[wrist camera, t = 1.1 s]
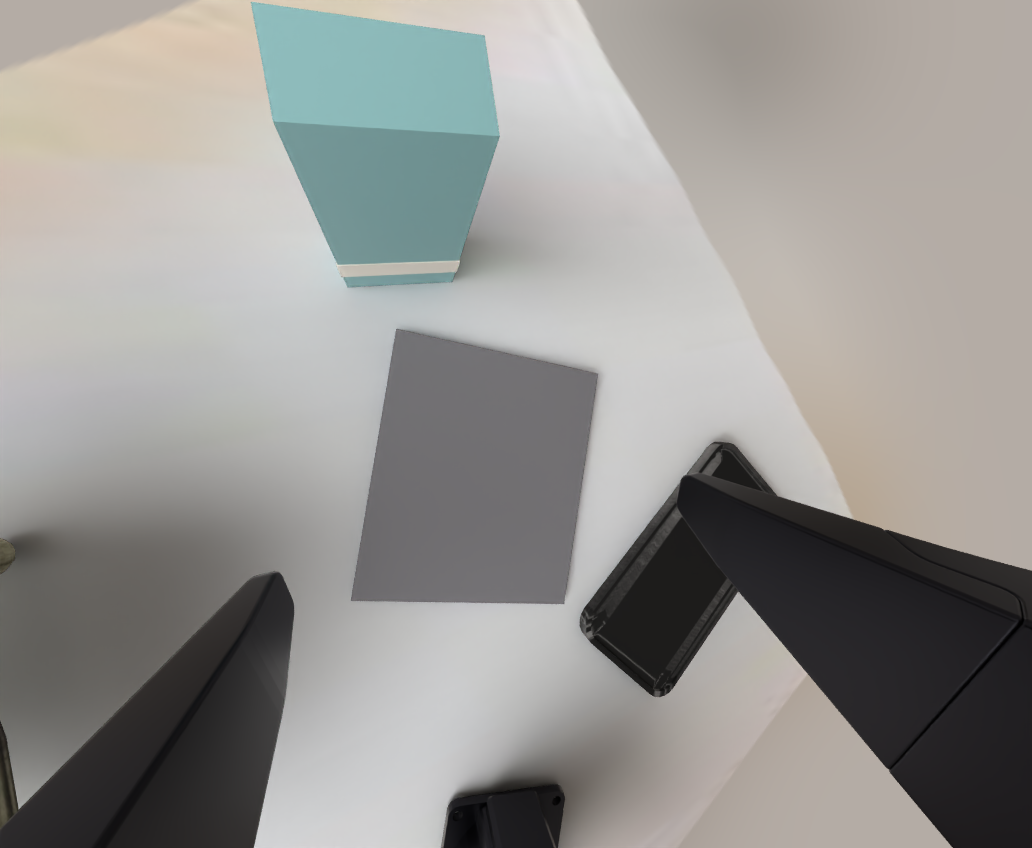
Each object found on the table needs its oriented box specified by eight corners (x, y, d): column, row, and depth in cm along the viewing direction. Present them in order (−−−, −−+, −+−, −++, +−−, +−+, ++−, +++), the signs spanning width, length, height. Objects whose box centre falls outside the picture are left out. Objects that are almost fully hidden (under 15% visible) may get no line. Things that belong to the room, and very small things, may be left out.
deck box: (453, 282, 19) (502, 138, 9) (346, 288, 17) (271, 123, 8) (445, 233, 18) (486, 34, 9) (337, 234, 17) (247, -2, 7)
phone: (577, 631, 20) (727, 435, 23) (569, 620, 21) (713, 434, 24) (663, 705, 22) (792, 514, 25) (651, 691, 23) (776, 510, 26)
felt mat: (560, 599, 21) (564, 603, 20) (352, 595, 17) (350, 600, 17) (593, 374, 21) (597, 373, 21) (396, 331, 18) (396, 328, 17)
